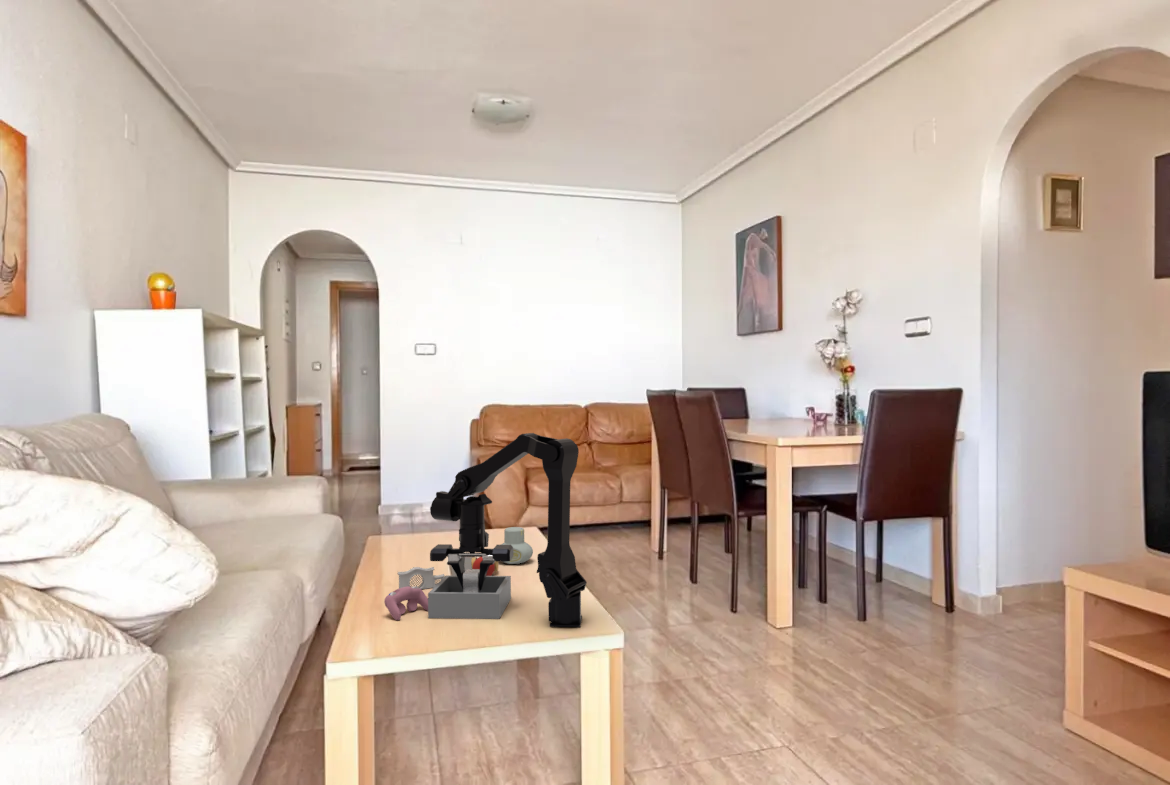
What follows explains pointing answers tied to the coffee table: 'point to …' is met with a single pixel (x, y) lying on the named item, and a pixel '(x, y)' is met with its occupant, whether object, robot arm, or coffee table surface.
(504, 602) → the open box
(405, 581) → the garden wall model
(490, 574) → the kendama
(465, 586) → the grey stepped block
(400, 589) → the video game controller
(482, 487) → the robot arm
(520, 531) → the air freshener
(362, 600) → the coffee table surface
